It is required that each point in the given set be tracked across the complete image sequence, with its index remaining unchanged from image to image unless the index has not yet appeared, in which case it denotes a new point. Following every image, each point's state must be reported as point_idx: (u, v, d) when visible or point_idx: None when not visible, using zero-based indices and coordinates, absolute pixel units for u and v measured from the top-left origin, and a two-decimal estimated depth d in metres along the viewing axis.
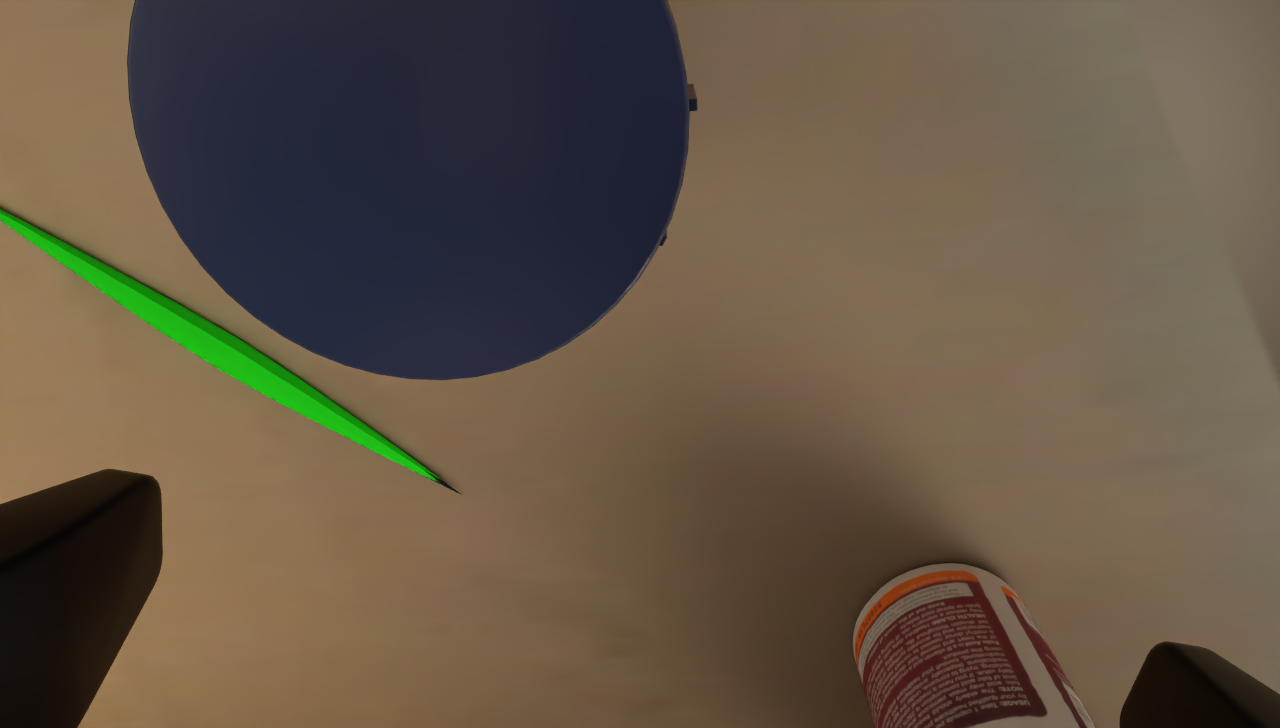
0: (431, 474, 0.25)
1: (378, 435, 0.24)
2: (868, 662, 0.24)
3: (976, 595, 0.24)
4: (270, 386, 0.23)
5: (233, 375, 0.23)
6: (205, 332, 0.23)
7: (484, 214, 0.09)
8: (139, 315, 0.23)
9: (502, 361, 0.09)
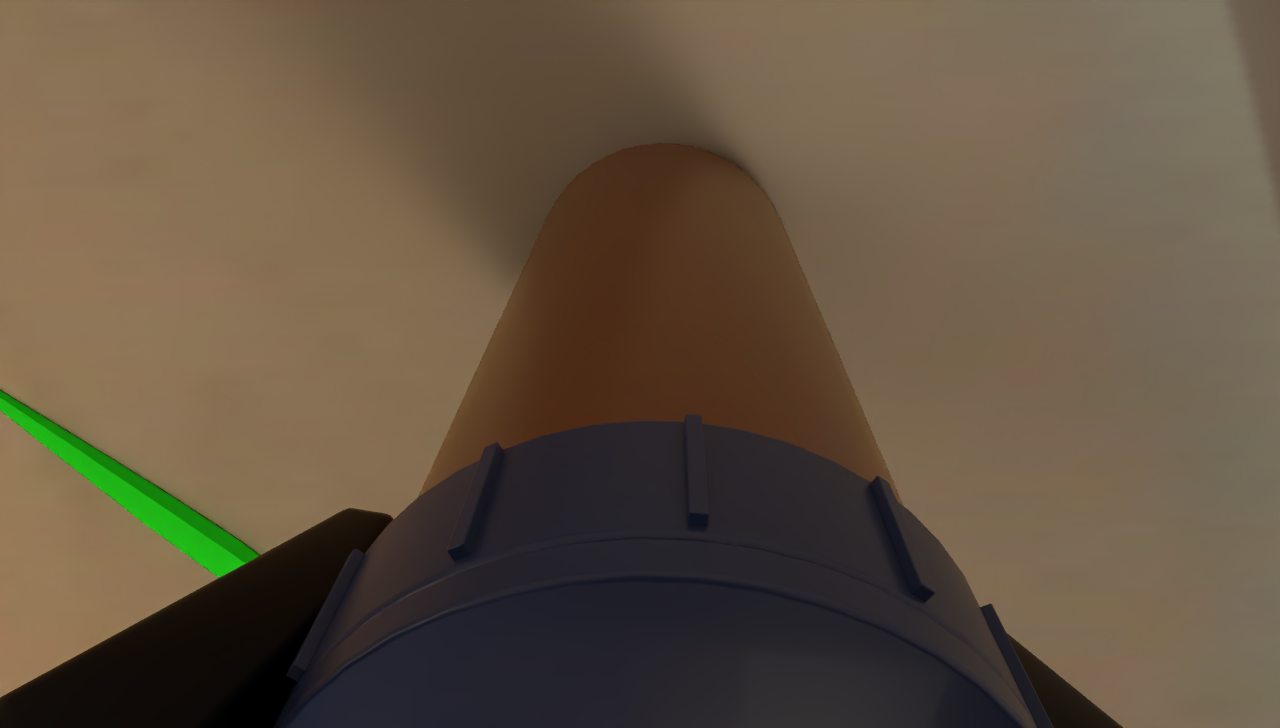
0: None
1: None
2: None
3: None
4: None
5: None
6: (199, 532, 0.20)
7: None
8: (124, 505, 0.20)
9: None
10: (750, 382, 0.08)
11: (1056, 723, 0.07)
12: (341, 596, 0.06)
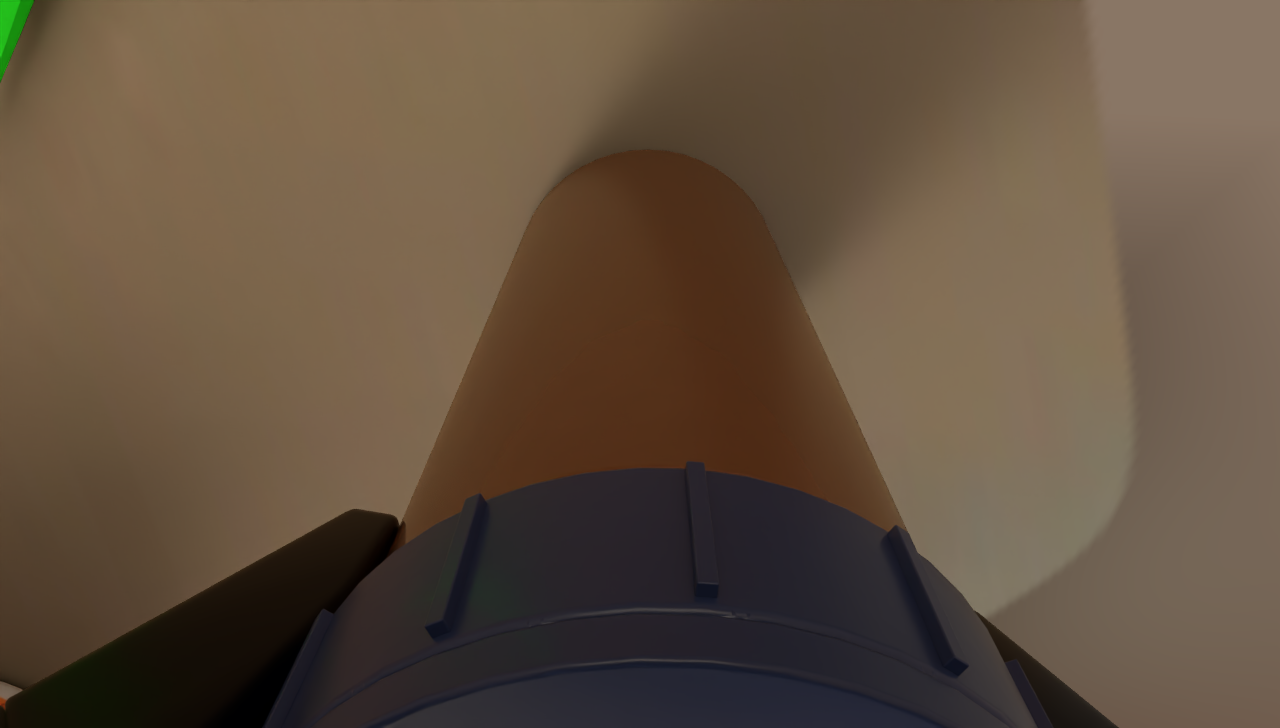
0: None
1: (14, 44, 0.15)
2: None
3: None
4: None
5: None
6: None
7: None
8: None
9: None
10: None
11: None
12: (308, 667, 0.06)
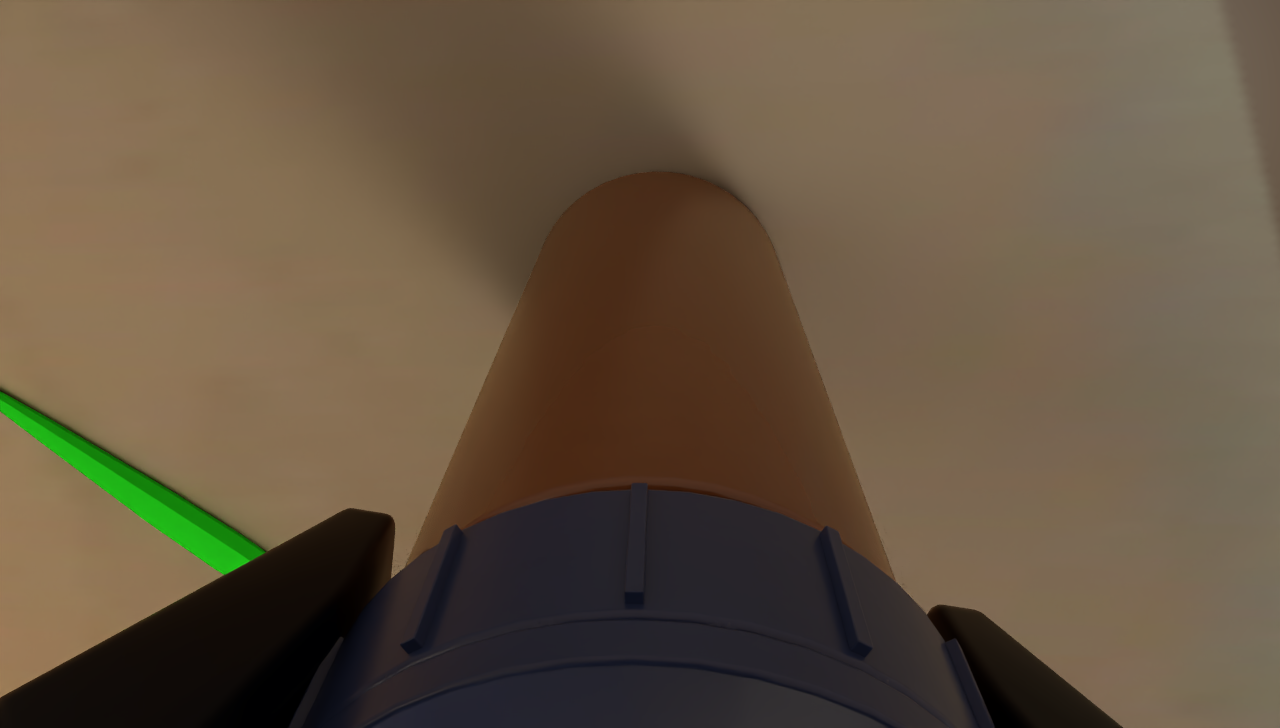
0: None
1: None
2: None
3: None
4: None
5: None
6: (203, 530, 0.20)
7: None
8: (127, 505, 0.20)
9: (751, 698, 0.05)
10: (735, 429, 0.08)
11: (1056, 723, 0.07)
12: None
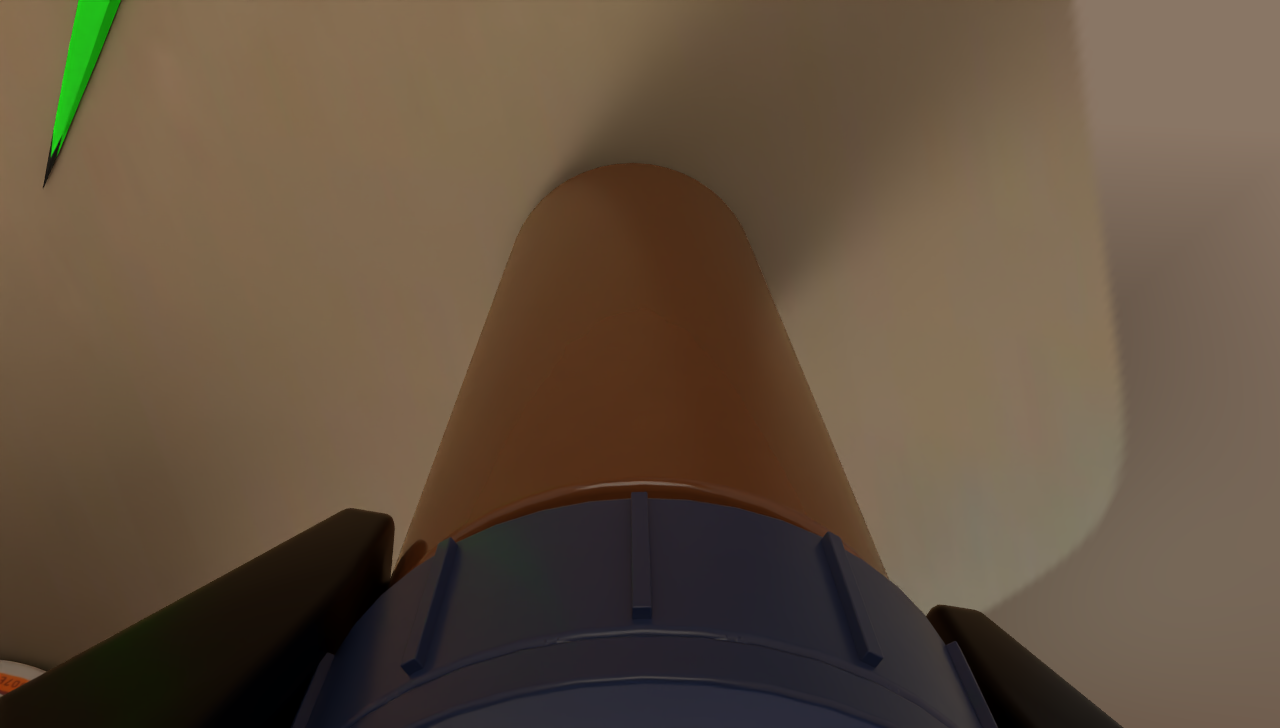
0: (59, 142, 0.17)
1: (94, 63, 0.17)
2: None
3: None
4: None
5: None
6: None
7: None
8: None
9: (765, 714, 0.05)
10: None
11: (1056, 723, 0.07)
12: None
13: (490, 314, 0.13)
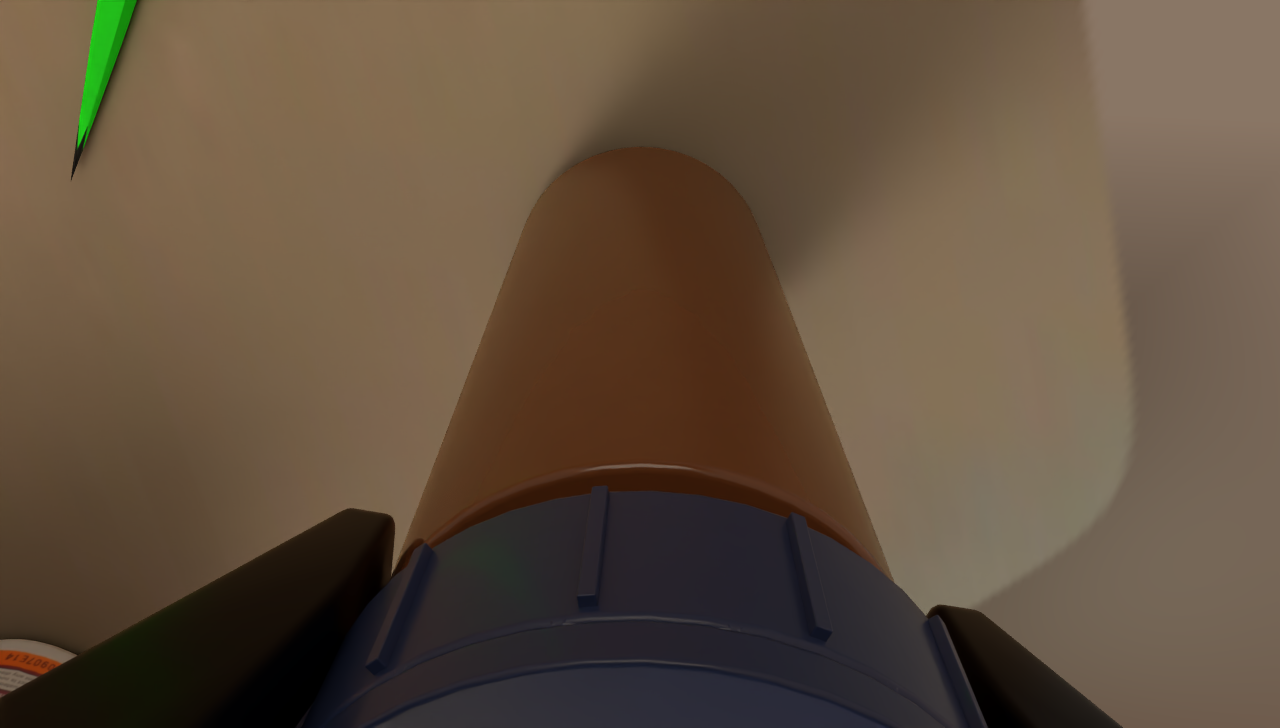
0: (85, 133, 0.17)
1: (116, 53, 0.17)
2: None
3: None
4: None
5: None
6: None
7: None
8: None
9: None
10: None
11: (1056, 723, 0.07)
12: (596, 530, 0.06)
13: (498, 298, 0.13)
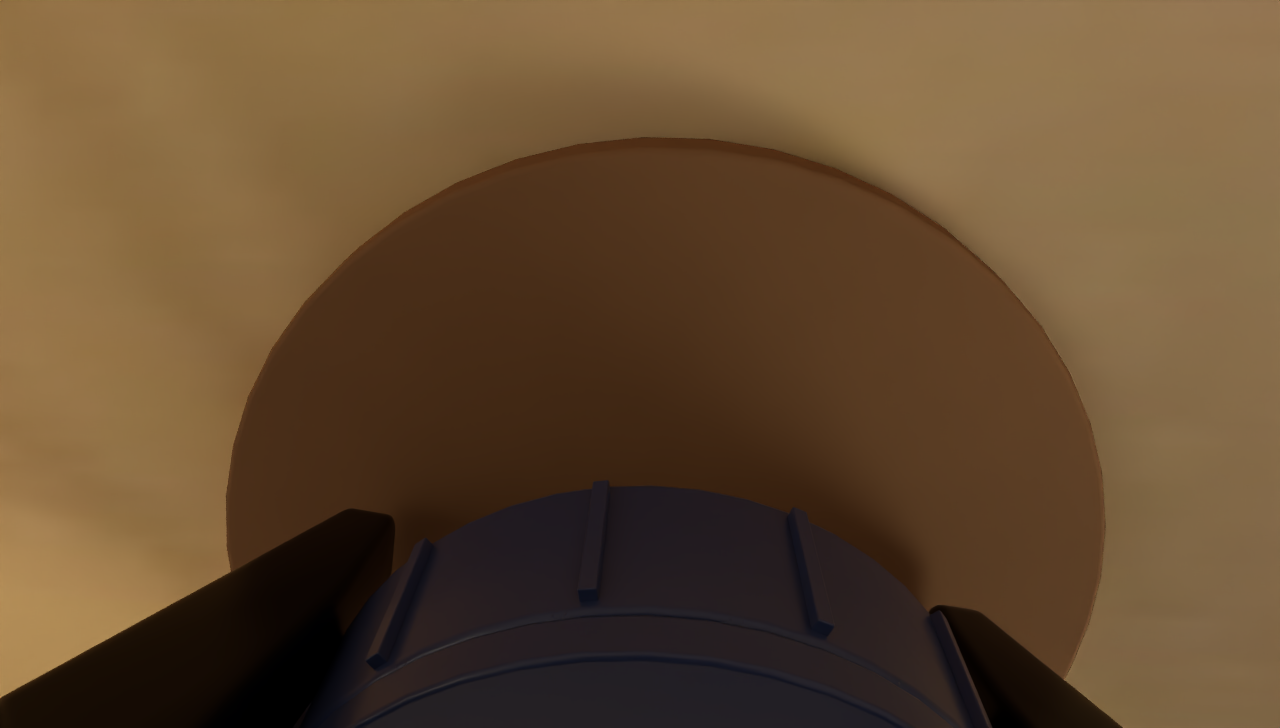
0: None
1: None
2: None
3: None
4: None
5: None
6: None
7: None
8: None
9: None
10: None
11: (1056, 723, 0.07)
12: (598, 525, 0.06)
13: None
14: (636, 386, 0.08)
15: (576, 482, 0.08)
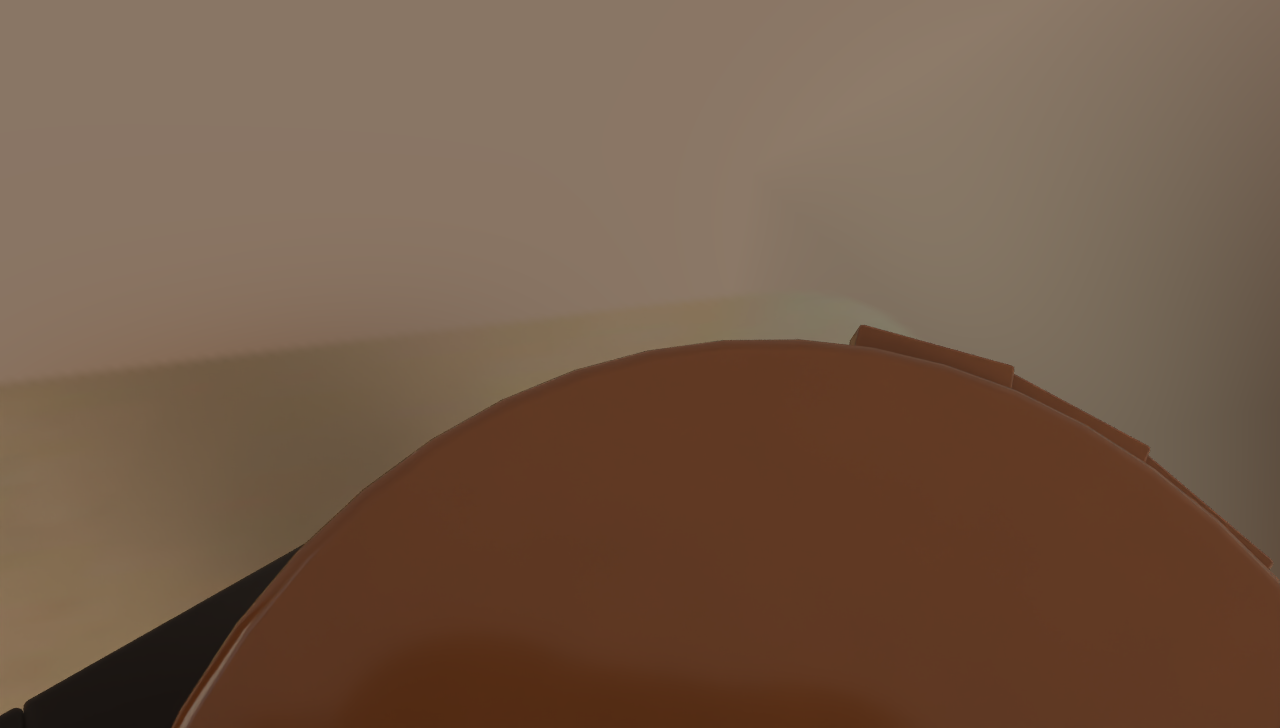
0: None
1: None
2: None
3: None
4: None
5: None
6: None
7: None
8: None
9: None
10: None
11: None
12: None
13: None
14: None
15: None
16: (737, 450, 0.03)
